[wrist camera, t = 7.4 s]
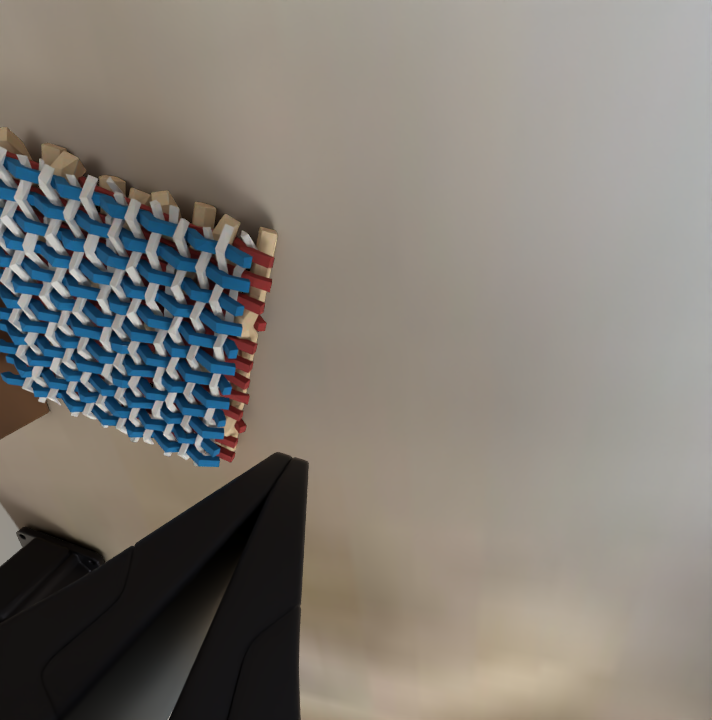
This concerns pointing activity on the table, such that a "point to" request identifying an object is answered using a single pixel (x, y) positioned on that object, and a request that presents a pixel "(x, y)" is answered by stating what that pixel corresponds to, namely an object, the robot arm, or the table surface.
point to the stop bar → (15, 397)
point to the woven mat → (128, 303)
